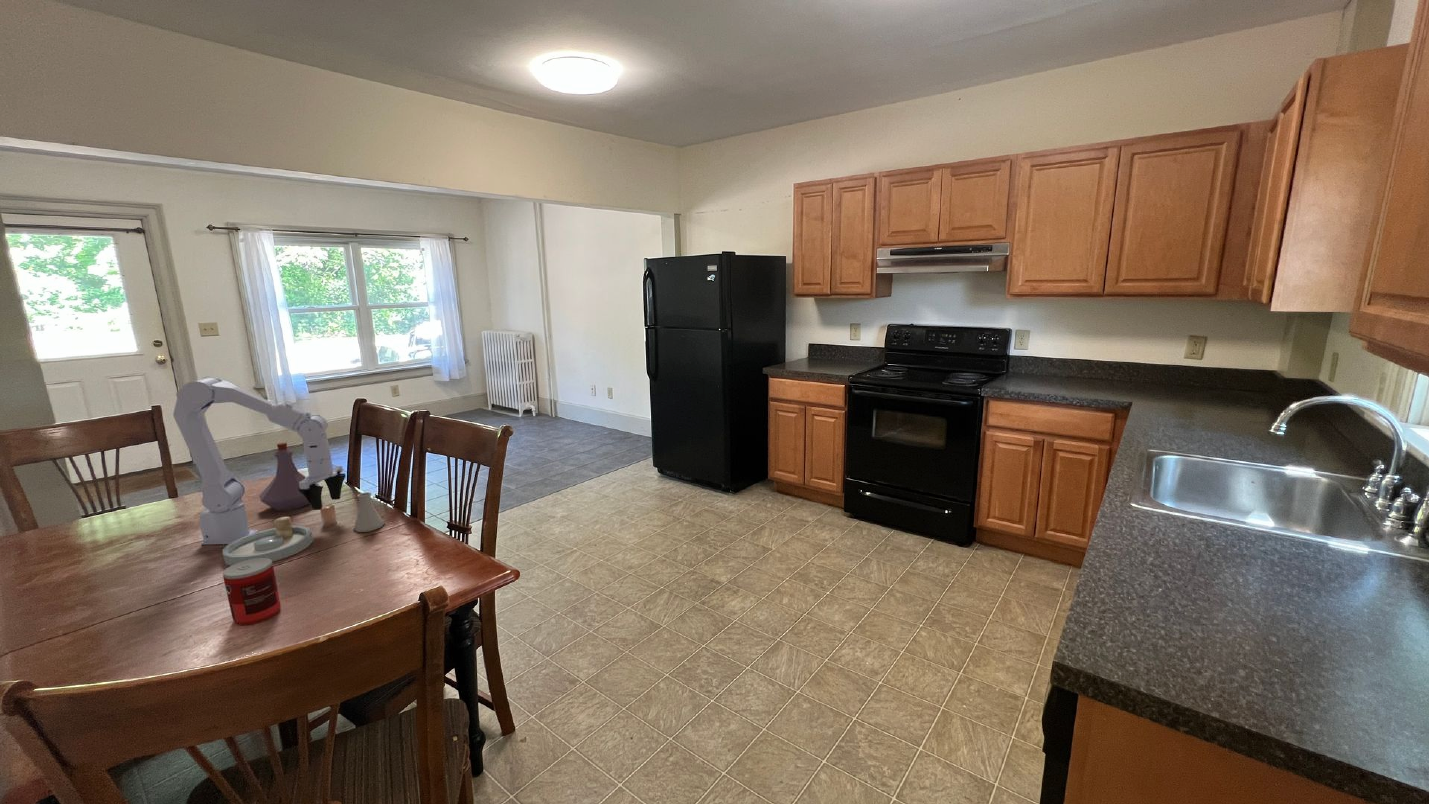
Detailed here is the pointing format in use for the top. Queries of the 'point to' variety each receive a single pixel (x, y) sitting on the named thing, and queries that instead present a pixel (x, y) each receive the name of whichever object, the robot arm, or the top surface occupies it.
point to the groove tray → (267, 545)
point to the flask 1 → (284, 483)
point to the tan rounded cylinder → (283, 527)
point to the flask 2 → (367, 515)
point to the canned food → (252, 591)
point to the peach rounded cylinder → (328, 515)
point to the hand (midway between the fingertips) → (326, 504)
